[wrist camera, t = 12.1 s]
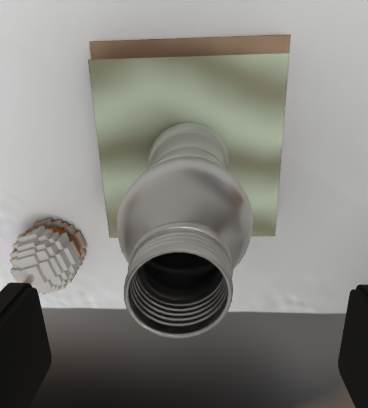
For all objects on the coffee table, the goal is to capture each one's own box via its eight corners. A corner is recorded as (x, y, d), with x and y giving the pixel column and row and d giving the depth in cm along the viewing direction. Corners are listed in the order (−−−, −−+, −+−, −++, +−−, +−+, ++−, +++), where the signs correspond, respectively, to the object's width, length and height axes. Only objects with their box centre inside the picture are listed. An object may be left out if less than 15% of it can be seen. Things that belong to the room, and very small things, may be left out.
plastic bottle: (136, 151, 30) (36, 283, 11) (196, 101, 28) (198, 159, 9) (181, 204, 32) (161, 396, 13) (241, 161, 30) (317, 309, 11)
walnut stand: (272, 214, 42) (294, 254, 33) (114, 216, 43) (91, 255, 34) (285, 36, 35) (317, 23, 26) (95, 43, 36) (59, 33, 27)
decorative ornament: (18, 226, 44) (-64, 298, 30) (71, 210, 43) (12, 276, 29) (45, 275, 47) (-19, 361, 33) (96, 261, 46) (52, 344, 32)
